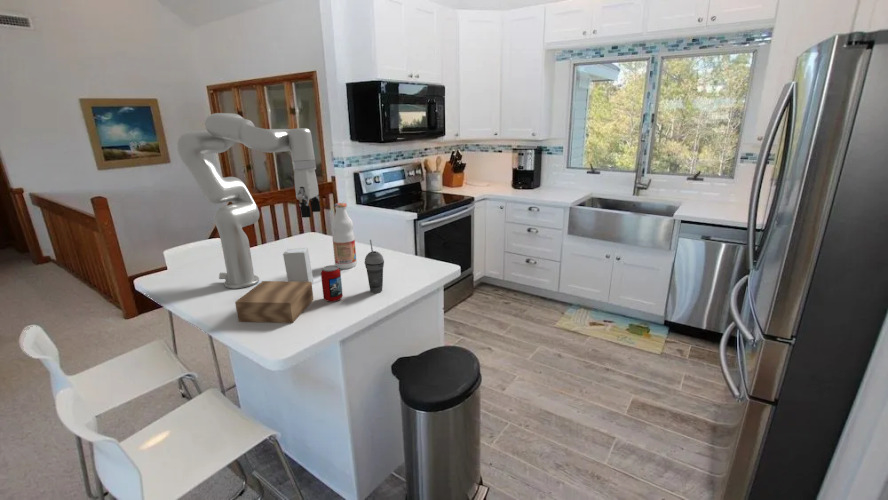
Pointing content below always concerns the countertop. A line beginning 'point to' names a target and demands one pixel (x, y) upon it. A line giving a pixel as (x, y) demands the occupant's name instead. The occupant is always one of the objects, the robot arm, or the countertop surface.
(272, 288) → the walnut block
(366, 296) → the countertop surface
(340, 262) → the fruit juice
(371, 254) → the beverage cup
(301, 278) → the skincare box
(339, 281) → the beverage can
